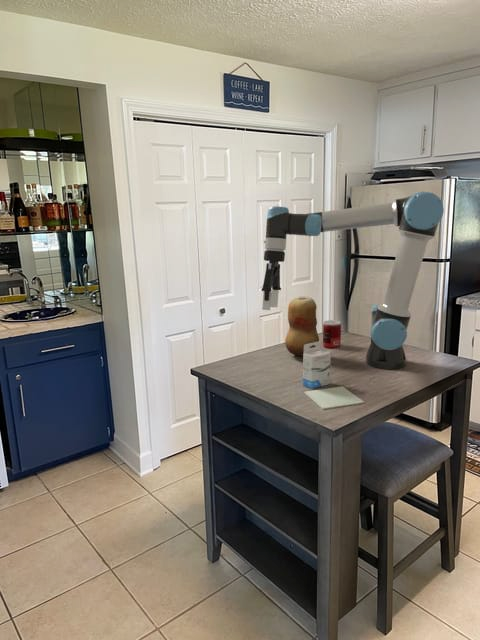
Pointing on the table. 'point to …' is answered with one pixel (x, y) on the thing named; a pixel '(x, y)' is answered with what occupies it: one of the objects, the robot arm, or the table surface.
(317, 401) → the sage mat
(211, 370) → the table surface
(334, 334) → the canned food
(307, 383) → the ink box
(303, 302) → the butternut squash
